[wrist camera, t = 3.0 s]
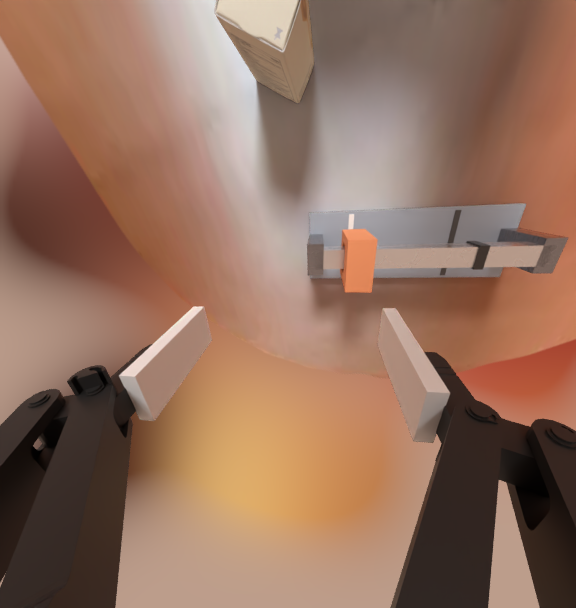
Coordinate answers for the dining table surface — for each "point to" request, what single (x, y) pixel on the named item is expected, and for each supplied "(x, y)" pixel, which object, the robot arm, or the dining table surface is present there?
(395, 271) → the board
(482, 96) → the dining table surface
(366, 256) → the collar
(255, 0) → the skincare box
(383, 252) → the rail
